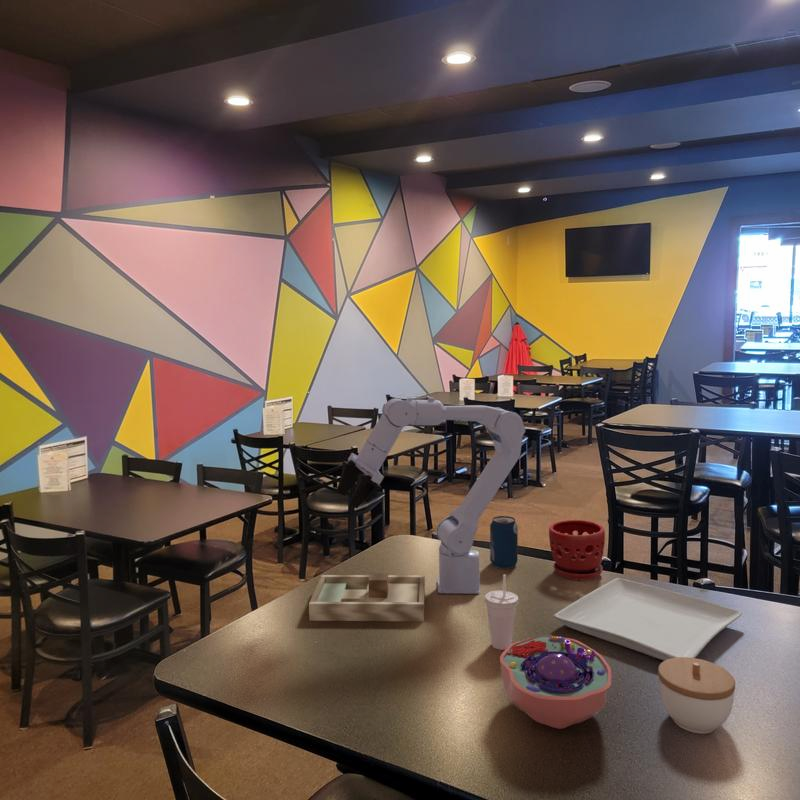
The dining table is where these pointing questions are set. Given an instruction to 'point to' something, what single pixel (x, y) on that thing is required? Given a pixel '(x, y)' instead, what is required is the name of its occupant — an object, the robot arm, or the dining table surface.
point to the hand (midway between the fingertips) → (346, 500)
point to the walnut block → (378, 585)
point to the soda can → (503, 542)
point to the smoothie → (501, 616)
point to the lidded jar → (696, 693)
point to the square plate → (648, 618)
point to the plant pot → (577, 548)
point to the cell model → (555, 679)
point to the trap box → (367, 599)
